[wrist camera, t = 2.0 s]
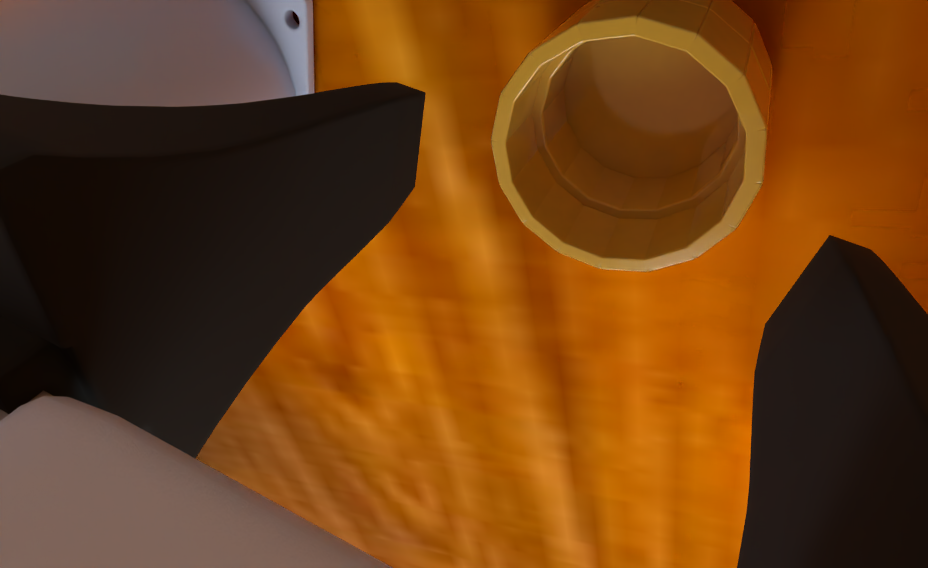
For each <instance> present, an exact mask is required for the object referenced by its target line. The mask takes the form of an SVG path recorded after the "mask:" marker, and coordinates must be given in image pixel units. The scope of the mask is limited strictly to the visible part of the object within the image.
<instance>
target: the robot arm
mask: <svg viewBox="0 0 928 568" xmlns="http://www.w3.org/2000/svg"><path fill="white" fill-rule="evenodd" d="M293 11H294V12H295V13H296V14H297V16H298V17H299V22H300V23H299V24H297V23H296V21H295V20H294V18H293ZM424 102H425V92H422V91H419V90H417V89H414V88H411V87H408V86H405V85H402V84H400V83H397V82H387V83H375V84H367V85H360V86H354V87H348V88H342V89H336V90H330V91H324V92H318V93H314V35H313V1H312V0H0V568H392V567H391V566H389V565H387V564H385V563H383V562H381V561H380V560H378V559H376V558H374V557H372V556H371V555H369V554H367V553H365V552H363V551H362V550H360V549H358V548H356V547H354V546H353V545H351V544H349V543H347V542H345V541H343V540H342V539H340V538H338V537H336V536H334V535H333V534H331V533H329V532H327V531H325V530H324V529H322V528H320V527H318V526H316V525H314V524H313V523H311V522H309V521H307V520H305V519H304V518H302V517H300V516H298V515H296V514H295V513H293V512H291V511H289V510H287V509H286V508H284V507H282V506H280V505H278V504H276V503H275V502H273V501H271V500H269V499H267V498H266V497H264V496H262V495H260V494H258V493H257V492H255V491H253V490H251V489H249V488H247V487H246V486H244V485H242V484H240V483H238V482H237V481H235V480H233V479H231V478H229V477H228V476H226V475H224V474H222V473H220V472H219V471H217V470H215V469H213V468H211V467H209V466H208V465H206V464H204V463H202V462H200V461H199V460H197V459H195V458H196V456H197V455H198V453H199V452H200V450H201V449H202V447H203V445H204V444H205V442H206V441H207V439H208V438H209V436H210V435H211V433H212V432H213V430H214V428H215V427H216V425H217V424H218V423H219V421H220V420H221V418H222V417H223V415H224V414H225V413H226V411H227V410H228V408H229V407H230V405H231V404H232V403H233V401H234V400H235V398H236V397H237V395H238V394H239V392H240V391H241V390H242V388H243V387H244V385H245V384H246V382H247V381H248V380H249V378H250V377H251V376H252V374H253V373H254V372H255V370H256V369H257V368H258V366H259V365H260V364H261V362H262V361H263V360H264V358H265V357H266V356H267V354H268V353H269V352H270V350H271V349H272V348H273V346H274V345H275V344H276V342H277V341H278V340H279V339H280V337H281V336H282V335H283V334H284V332H285V331H286V330H287V329H288V327H289V326H290V325H291V324H292V322H293V321H294V320H295V319H296V317H297V316H298V315H299V314H300V312H301V311H302V310H303V309H304V307H305V306H306V305H307V304H308V303H309V302H310V301H311V300H312V299H313V298H314V296H315V295H316V294H317V293H318V292H319V291H320V290H321V289H322V288H323V287H324V286H325V285H326V284H327V283H328V282H329V281H330V280H331V279H332V278H333V277H334V276H335V275H336V274H337V273H338V272H339V271H340V270H341V269H342V268H343V267H344V266H346V265H347V264H348V263H349V262H350V261H351V260H352V259H353V258H354V257H355V256H356V255H357V254H358V253H359V252H360V251H361V250H362V249H363V248H364V247H365V246H366V245H367V244H368V243H369V242H370V241H371V240H372V239H373V238H374V237H375V236H376V235H377V234H378V233H379V232H380V231H381V230H382V229H383V228H384V227H385V226H386V225H387V224H388V223H389V221H390V220H391V219H392V217H393V216H394V215H395V213H396V212H397V211H398V210H399V208H400V207H401V206H402V204H403V203H404V201H405V200H406V198H407V197H408V196H409V194H410V193H411V191H412V190H413V188H414V187H415V180H416V171H417V163H418V154H419V145H420V137H421V128H422V119H423V110H424ZM737 568H928V315H927V313H926V312H925V311H924V310H923V308H922V307H921V306H920V305H919V304H918V302H917V301H916V300H915V299H914V297H913V296H912V295H911V294H910V293H909V291H908V290H907V289H906V288H905V286H904V285H903V284H902V283H901V282H900V280H899V279H898V278H897V277H896V276H895V274H894V273H893V272H892V271H891V270H890V269H889V268H888V266H887V265H886V264H885V263H884V262H883V261H882V260H881V259H880V258H879V257H878V256H877V255H876V254H875V253H874V252H873V251H872V250H870V249H868V248H865V247H862V246H859V245H857V244H854V243H851V242H848V241H845V240H842V239H840V238H837V237H834V236H831V235H829V237H828V238H827V240H826V241H825V242H824V244H823V245H822V246H821V248H820V249H819V251H818V252H817V253H816V255H815V256H814V258H813V259H812V260H811V262H810V263H809V264H808V266H807V267H806V269H805V270H804V271H803V273H802V274H801V275H800V277H799V278H798V280H797V281H796V282H795V284H794V285H793V287H792V288H791V289H790V291H789V292H788V293H787V295H786V296H785V298H784V299H783V300H782V302H781V303H780V304H779V306H778V307H777V309H776V310H775V311H774V313H773V314H772V316H771V317H770V318H769V320H768V321H767V322H766V324H765V327H764V332H763V336H762V340H761V345H760V349H759V354H758V359H757V364H756V369H755V376H754V393H753V412H752V436H751V460H750V483H749V495H748V505H747V514H746V519H745V525H744V531H743V537H742V543H741V548H740V554H739V560H738V566H737Z"/></svg>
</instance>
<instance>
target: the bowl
mask: <svg viewBox="0 0 928 568" xmlns="http://www.w3.org/2000/svg"><path fill="white" fill-rule="evenodd" d="M772 75H773V68H772V63H771V60H770V58H769V55H768V53H767V50H766V48H765V45H764V42H763V40H762V37H761V35H760V32H759V30H758V27H757V25H756V24H755V23H754V21H753V19H752V18H751V17H749V16H748V15H747V14H746V13H745V12H744V11H743V10H742V9H740V8H739V7H738V6H737V5H736V4H735V3H734V2H733V1H731V0H592V1H590V2H588V3H587V4H585V5H584V6H582V7H581V8H579V9H578V10H577V11H576V12H575V13H574V14H573V15H572V16H570V17H569V18H568V19H567V20H566V21H565V22H564V23H562V24H561V25H560V26H559V27H558V28H556V29H555V30H554V31H553V32H552V33H551V34H550V35H548V36H547V37H546V38H545V39H544V40H543V41H542V42H541V43H539V44H538V45H537V46H536V47H535V48H534V49H533V50H531V51H530V52H529V53H528V55H527V56H526V57H525V59H524V60H523V62H522V63H521V65H520V66H519V67H518V69H517V70H516V72H515V73H514V75H513V76H512V77H511V79H510V80H509V82H508V83H507V85H506V86H505V87H504V89H503V90H502V92H501V94H500V97H499V102H498V107H497V112H496V117H495V122H494V127H493V131H492V136H491V144H492V149H493V155H494V160H495V165H496V171H497V176H498V181H499V184H500V187H501V189H502V190H503V192H504V194H505V195H506V197H507V199H508V200H509V202H510V203H511V205H512V207H513V208H514V210H515V212H516V213H517V215H518V217H519V218H520V220H521V222H523V224H524V225H525V226H526V227H528V228H529V229H530V230H531V231H532V232H534V233H535V234H536V235H537V236H539V237H540V238H541V239H542V240H543V241H545V242H546V243H547V244H548V245H549V246H551V247H552V248H553V249H554V250H555V251H558V252H559V253H561V254H563V255H566V256H569V257H571V258H574V259H576V260H579V261H581V262H584V263H586V264H589V265H591V266H594V267H596V268H601V269H607V270H624V271H641V272H647V271H653V270H657V269H660V268H664V267H668V266H671V265H675V264H679V263H682V262H686V261H689V260H693V259H695V258H697V257H699V256H700V255H701V254H703V253H704V252H706V251H707V250H708V249H710V248H711V247H712V246H714V245H715V244H716V243H718V242H719V241H721V240H722V239H723V238H725V237H726V236H727V235H729V234H730V233H731V232H733V231H734V230H735V229H736V228H737V227H738V226H739V224H740V222H741V221H742V219H743V217H744V216H745V214H746V212H747V210H748V209H749V207H750V205H751V204H752V202H753V200H754V198H755V197H756V195H757V193H758V192H759V190H760V188H761V186H762V183H763V181H764V171H765V160H766V148H767V136H768V125H769V113H770V101H771V88H772Z"/></svg>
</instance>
